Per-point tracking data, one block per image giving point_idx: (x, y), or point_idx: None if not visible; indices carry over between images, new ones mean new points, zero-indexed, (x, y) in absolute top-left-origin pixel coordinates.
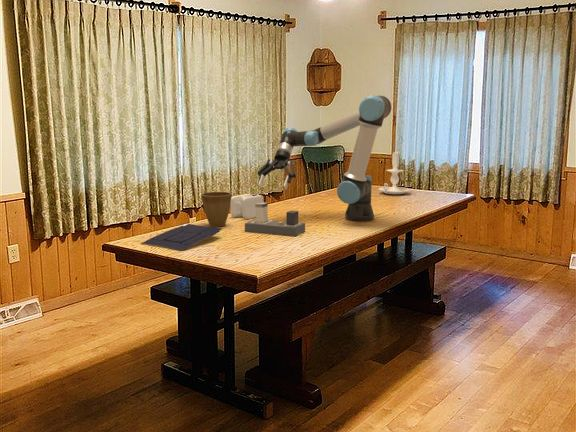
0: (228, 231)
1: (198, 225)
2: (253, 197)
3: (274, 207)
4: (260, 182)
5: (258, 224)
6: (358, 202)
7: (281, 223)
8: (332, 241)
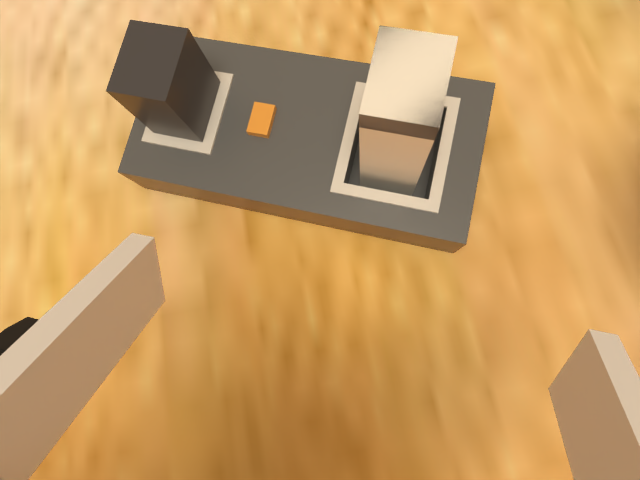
0: (578, 94)
1: None
2: None
3: None
4: (608, 382)
5: None
6: None
7: (254, 106)
8: (13, 10)
